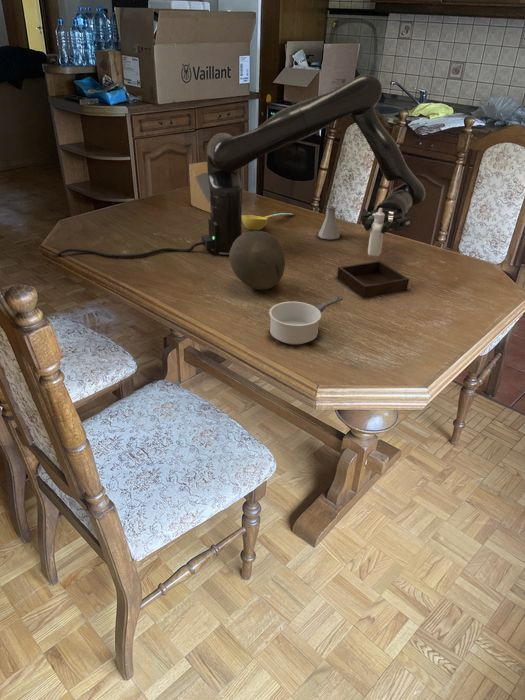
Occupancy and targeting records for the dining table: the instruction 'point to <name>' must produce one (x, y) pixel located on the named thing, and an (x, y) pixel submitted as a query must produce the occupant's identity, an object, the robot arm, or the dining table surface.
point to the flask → (329, 225)
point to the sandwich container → (199, 186)
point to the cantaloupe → (257, 259)
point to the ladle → (257, 221)
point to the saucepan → (297, 321)
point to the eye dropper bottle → (376, 235)
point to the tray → (372, 279)
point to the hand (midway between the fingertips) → (375, 228)
